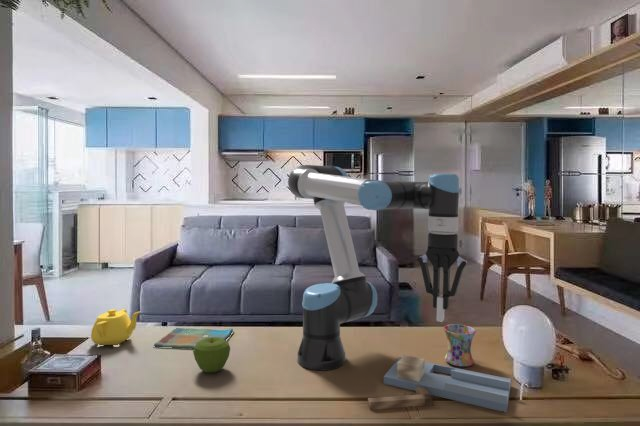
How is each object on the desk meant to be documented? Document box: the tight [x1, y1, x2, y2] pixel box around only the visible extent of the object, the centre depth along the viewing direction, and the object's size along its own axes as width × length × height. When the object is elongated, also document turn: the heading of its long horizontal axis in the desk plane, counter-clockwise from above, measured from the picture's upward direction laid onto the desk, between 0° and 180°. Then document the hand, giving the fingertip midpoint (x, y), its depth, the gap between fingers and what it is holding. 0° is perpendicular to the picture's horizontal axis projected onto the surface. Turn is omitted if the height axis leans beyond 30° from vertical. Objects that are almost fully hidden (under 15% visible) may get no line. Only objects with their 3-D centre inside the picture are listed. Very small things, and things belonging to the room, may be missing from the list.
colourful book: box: [153, 327, 234, 350], centre depth 145 cm, size 17×23×2 cm
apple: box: [192, 337, 231, 374], centre depth 120 cm, size 11×10×10 cm
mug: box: [443, 323, 477, 367], centre depth 126 cm, size 12×9×11 cm
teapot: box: [90, 308, 142, 346], centre depth 142 cm, size 14×14×12 cm
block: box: [397, 354, 426, 382], centre depth 112 cm, size 6×6×4 cm
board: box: [383, 356, 512, 413], centre depth 111 cm, size 31×15×4 cm, turn 61°
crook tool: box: [367, 386, 434, 410], centre depth 102 cm, size 16×6×2 cm, turn 97°
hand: (440, 320), depth 108 cm, fingers closed
